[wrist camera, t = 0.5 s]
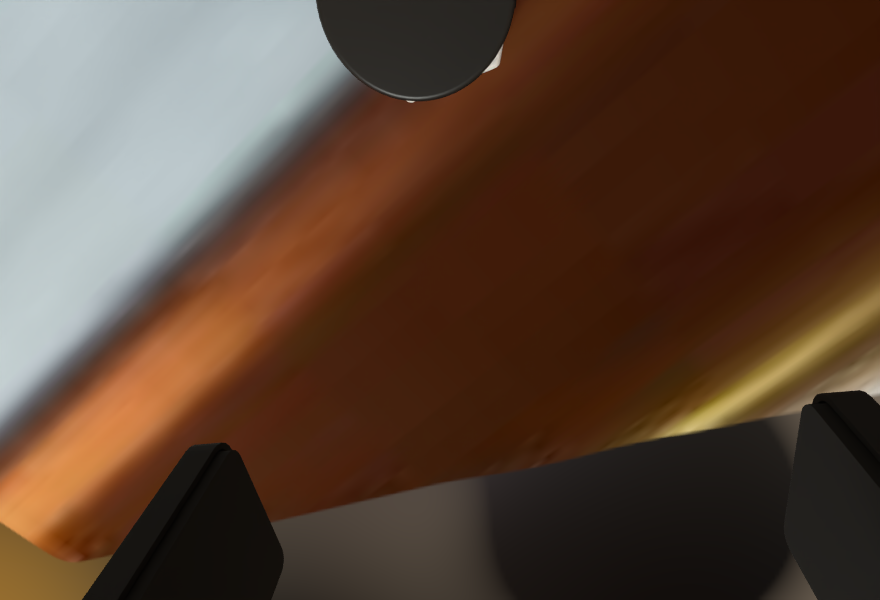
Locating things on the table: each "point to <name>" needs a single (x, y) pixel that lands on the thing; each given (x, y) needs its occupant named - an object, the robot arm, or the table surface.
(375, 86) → the jar
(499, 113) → the table surface
